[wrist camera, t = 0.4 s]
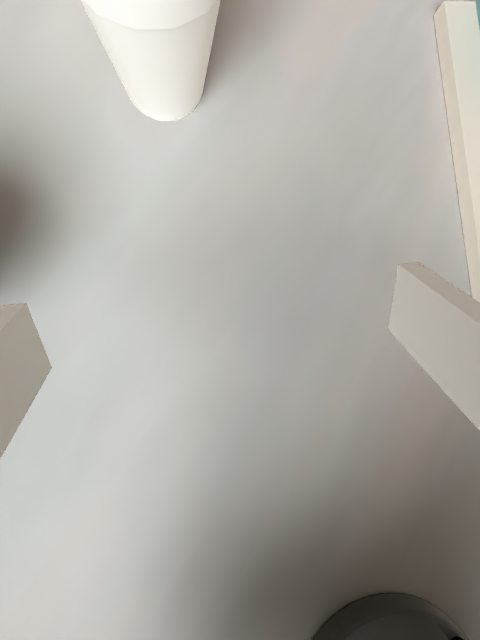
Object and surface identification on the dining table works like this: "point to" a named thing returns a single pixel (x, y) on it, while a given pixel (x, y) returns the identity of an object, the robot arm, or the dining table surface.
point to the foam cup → (158, 50)
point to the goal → (478, 11)
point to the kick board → (463, 116)
